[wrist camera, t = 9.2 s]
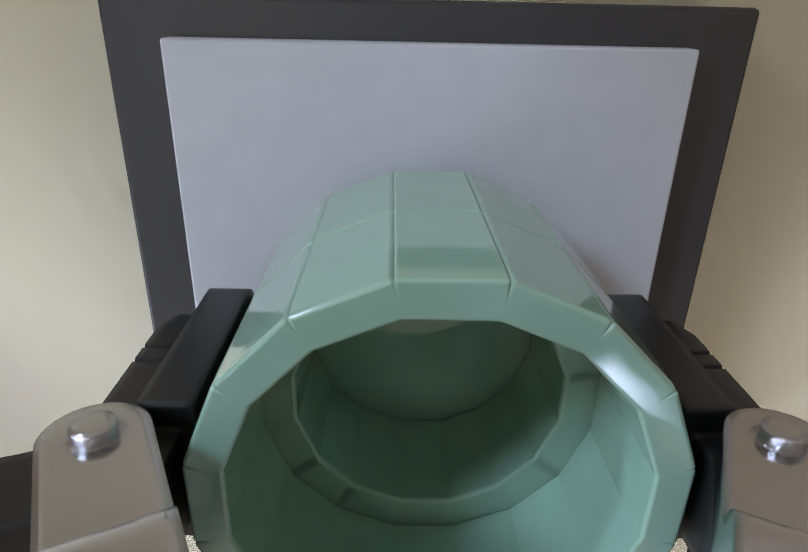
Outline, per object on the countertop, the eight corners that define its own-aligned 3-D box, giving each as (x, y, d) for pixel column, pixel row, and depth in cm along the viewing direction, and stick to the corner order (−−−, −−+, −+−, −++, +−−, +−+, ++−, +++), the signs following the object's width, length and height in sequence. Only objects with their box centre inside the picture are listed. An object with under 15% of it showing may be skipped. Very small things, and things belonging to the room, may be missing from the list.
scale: (141, -7, 13) (80, -9, 10) (705, 7, 13) (778, 8, 11) (209, 474, 18) (180, 549, 16) (609, 477, 18) (642, 550, 16)
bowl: (252, 159, 11) (148, 276, 6) (601, 165, 11) (752, 283, 6) (275, 441, 13) (213, 670, 9) (557, 443, 13) (642, 670, 9)
